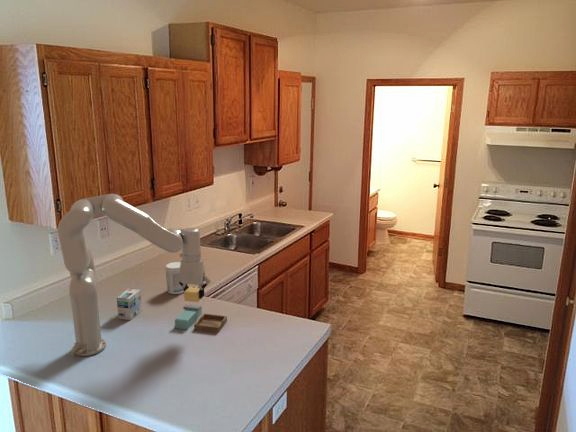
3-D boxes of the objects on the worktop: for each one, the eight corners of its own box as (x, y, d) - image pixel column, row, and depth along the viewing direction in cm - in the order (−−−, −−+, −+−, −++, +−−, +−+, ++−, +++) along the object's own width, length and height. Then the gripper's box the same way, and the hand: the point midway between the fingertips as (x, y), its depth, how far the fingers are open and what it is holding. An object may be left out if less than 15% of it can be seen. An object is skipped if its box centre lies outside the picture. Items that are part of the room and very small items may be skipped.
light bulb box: (131, 320, 211) (129, 298, 209) (117, 319, 213) (115, 297, 210) (142, 310, 221) (141, 289, 219) (129, 308, 223) (128, 288, 220)
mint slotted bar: (189, 329, 204) (188, 319, 202) (173, 327, 205) (172, 317, 204) (203, 313, 219) (203, 303, 217) (188, 312, 220) (188, 301, 219)
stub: (197, 302, 195) (196, 293, 194) (184, 300, 196) (183, 291, 195) (203, 296, 200) (203, 287, 199) (191, 294, 202) (190, 286, 201)
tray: (218, 332, 201) (218, 327, 201) (194, 329, 204) (194, 324, 203) (226, 321, 212) (226, 316, 211) (204, 318, 214) (203, 313, 214)
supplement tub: (188, 288, 247) (187, 262, 244) (181, 295, 238) (180, 268, 234) (171, 286, 249) (170, 261, 245) (163, 294, 240) (162, 267, 236)
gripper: (168, 258, 192) (171, 298, 197) (207, 261, 188) (209, 302, 193) (176, 252, 199) (179, 291, 204) (214, 255, 195) (216, 295, 200)
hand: (194, 296), depth 198 cm, fingers closed on stub, 6 cm apart
